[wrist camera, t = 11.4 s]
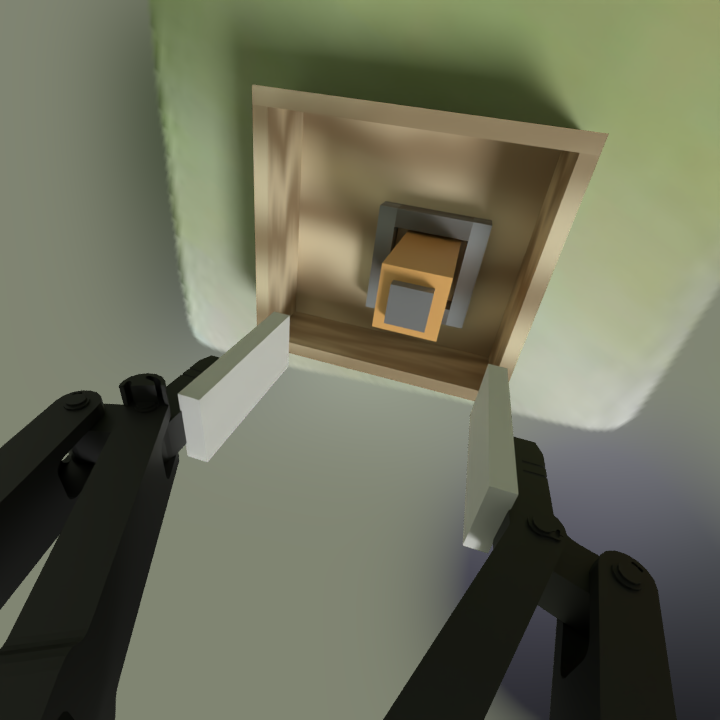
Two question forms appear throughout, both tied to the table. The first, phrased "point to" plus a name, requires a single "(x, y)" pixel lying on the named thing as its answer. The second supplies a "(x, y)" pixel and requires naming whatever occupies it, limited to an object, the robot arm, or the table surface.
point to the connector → (416, 284)
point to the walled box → (409, 227)
